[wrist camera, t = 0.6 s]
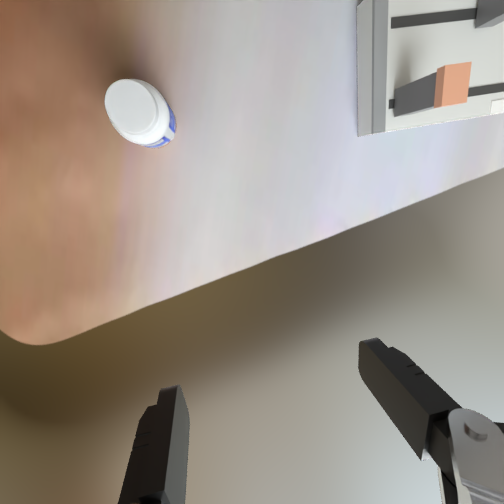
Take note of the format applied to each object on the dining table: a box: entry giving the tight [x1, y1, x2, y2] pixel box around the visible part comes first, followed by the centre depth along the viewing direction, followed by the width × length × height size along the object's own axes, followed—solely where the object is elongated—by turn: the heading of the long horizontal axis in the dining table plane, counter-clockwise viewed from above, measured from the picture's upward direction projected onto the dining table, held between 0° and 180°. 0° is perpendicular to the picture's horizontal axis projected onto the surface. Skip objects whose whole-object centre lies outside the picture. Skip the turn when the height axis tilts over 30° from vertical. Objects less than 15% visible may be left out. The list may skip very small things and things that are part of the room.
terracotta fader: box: [394, 62, 472, 117], centre depth 27 cm, size 3×3×7 cm
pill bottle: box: [105, 79, 176, 148], centre depth 25 cm, size 5×5×10 cm
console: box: [357, 0, 504, 137], centre depth 31 cm, size 14×22×3 cm, turn 99°
